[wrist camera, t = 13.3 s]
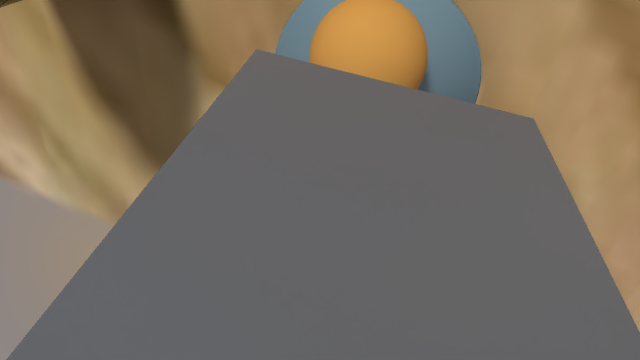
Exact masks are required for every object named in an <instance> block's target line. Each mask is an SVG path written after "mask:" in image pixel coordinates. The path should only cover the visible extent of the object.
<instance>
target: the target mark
mask: <svg viewBox="0 0 640 360" xmlns="http://www.w3.org/2000/svg"><path fill="white" fill-rule="evenodd" d="M343 1H345V0H304V1H303V3H302V4H301V5H300V6H299V7H298V8H297V9H296V10H295V12H294V13H293V15H292V16H291V18H290V19H289V21H288V22H287V24H286V26H285V28H284V30H283V32H282V34H281V36H280V39H279V42H278V46H277V49H276V54H277V55H281V56H285V57H289V58H293V59H297V60H301V61H305V62H309V63H310V59H309V54H310V46H311V42H312V38H313V35H314V33H315V30H316V28H317V27H318V25H319V23H320V21H321V20H322V19H323V18H324V16H325V15H326V14H327V13H328V12H329V11H330V10H331V9H332V8H334V7H335V6H337V5H338V4H340V3H341V2H343ZM395 1H397V2H399V3H400V4H402V5H403V6H405V7H406V8H407V9H408V10H410V12H411V13H412V14H413V15H414V16H415V17H416V18H417V20H418V22H419V23H420V25H421V27H422V29H423V31H424V34H425V37H426V41H427V47H428V62H427V67H426V72H425V75H424V78H423V80H422V82H421V84H420V86H419V88H418V89H417V90H421V91H425V92H429V93H433V94H437V95H441V96H445V97H449V98H453V99H457V100H461V101H465V102H469V103H473V104H475V102H476V99H477V95H478V92H479V87H480V80H481V60H480V53H479V48H478V44H477V41H476V38H475V35H474V33H473V31H472V28H471V26H470V24H469V22H468V21H467V19H466V18H465V16H464V14H463V13H462V11H461V10H460V9H459V8H458V7H457V6H456V4H455V3H454V2H453V1H452V0H395Z"/></svg>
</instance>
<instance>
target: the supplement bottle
mask: <svg viewBox="0 0 640 360" xmlns="http://www.w3.org/2000/svg"><path fill="white" fill-rule="evenodd" d="M18 1H21V0H0V8H1V7H4V6H7V5H10V4H13V3H15V2H18Z"/></svg>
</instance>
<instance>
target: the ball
mask: <svg viewBox="0 0 640 360" xmlns="http://www.w3.org/2000/svg"><path fill="white" fill-rule="evenodd" d="M309 59H310V63H313V64H317V65H321V66H325V67H329V68H333V69H337V70H341V71H345V72H349V73H353V74H357V75H361V76H365V77H369V78H373V79H377V80H381V81H385V82H389V83H393V84H397V85H401V86H405V87H409V88H413V89H418V88H419V86H420V84H421V82H422V80H423V78H424V75H425V72H426V67H427V62H428V47H427V41H426V37H425V34H424V31H423V29H422V27H421V25H420V23H419V22H418V20H417V18H416V17H415V16H414V15H413V14H412V13H411V12H410V10H408V9H407V8H406V7H405V6H403V5H402V4H400V3H399V2H397V1H395V0H345V1H343V2H341V3H340V4H338V5H337V6H335V7H334V8H332V9H331V10H330V11H329V12H328V13H327V14H326V15H325V16H324V18H323V19H322V20H321V21H320V23H319V25H318V27H317V28H316V30H315V33H314V35H313V38H312V42H311V46H310V54H309Z"/></svg>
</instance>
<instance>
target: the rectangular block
mask: <svg viewBox="0 0 640 360" xmlns="http://www.w3.org/2000/svg"><path fill="white" fill-rule="evenodd" d="M7 360H640V332H639V330H638V328H637V326H636V324H635V322H634V320H633V318H632V316H631V314H630V312H629V310H628V308H627V306H626V304H625V302H624V300H623V298H622V296H621V294H620V292H619V290H618V288H617V286H616V284H615V282H614V280H613V278H612V276H611V274H610V272H609V270H608V268H607V266H606V264H605V262H604V260H603V258H602V256H601V254H600V252H599V250H598V248H597V246H596V244H595V242H594V240H593V238H592V236H591V234H590V232H589V230H588V228H587V225H586V223H585V221H584V219H583V217H582V215H581V213H580V211H579V209H578V207H577V205H576V203H575V201H574V199H573V197H572V195H571V193H570V191H569V189H568V187H567V185H566V183H565V181H564V179H563V177H562V175H561V173H560V171H559V169H558V167H557V165H556V163H555V161H554V159H553V157H552V155H551V153H550V151H549V149H548V147H547V145H546V143H545V141H544V139H543V137H542V135H541V133H540V131H539V129H538V127H537V125H536V123H535V121H534V119H533V118H529V117H525V116H521V115H517V114H513V113H509V112H505V111H501V110H497V109H493V108H489V107H485V106H481V105H477V104H473V103H469V102H465V101H461V100H457V99H453V98H449V97H445V96H441V95H437V94H433V93H429V92H425V91H421V90H417V89H413V88H409V87H405V86H401V85H397V84H393V83H389V82H385V81H381V80H377V79H373V78H369V77H365V76H361V75H357V74H353V73H349V72H345V71H341V70H337V69H333V68H329V67H325V66H321V65H317V64H313V63H309V62H305V61H301V60H297V59H293V58H289V57H285V56H281V55H277V54H273V53H269V52H265V51H261V50H257V49H256V51H255V52H254V53H253V54H252V56H251V57H250V58H249V59H248V60H247V62H246V63H245V64H244V65H243V67H242V68H241V69H240V70H239V72H238V73H237V74H236V75H235V77H234V78H233V79H232V80H231V82H230V83H229V84H228V85H227V87H226V88H225V89H224V90H223V92H222V93H221V94H220V95H219V96H218V98H217V99H216V100H215V101H214V103H213V104H212V105H211V106H210V108H209V109H208V110H207V111H206V113H205V114H204V115H203V116H202V118H201V119H200V120H199V121H198V123H197V124H196V125H195V126H194V127H193V129H192V130H191V131H190V132H189V134H188V135H187V136H186V137H185V139H184V140H183V141H182V142H181V144H180V145H179V146H178V147H177V149H176V150H175V151H174V152H173V154H172V155H171V156H170V157H169V159H168V160H167V161H166V162H165V163H164V165H163V166H162V167H161V168H160V170H159V171H158V172H157V173H156V175H155V176H154V177H153V178H152V180H151V181H150V182H149V183H148V185H147V186H146V187H145V188H144V190H143V191H142V192H141V193H140V195H139V196H138V197H137V198H136V199H135V201H134V202H133V203H132V204H131V206H130V207H129V208H128V209H127V211H126V212H125V213H124V214H123V216H122V217H121V218H120V219H119V221H118V222H117V223H116V224H115V226H114V227H113V228H112V229H111V230H110V232H109V233H108V235H107V236H106V237H105V238H104V239H103V240H102V242H101V243H100V244H99V246H98V247H97V248H96V249H95V250H94V252H93V253H92V254H91V255H90V257H89V258H88V259H87V261H86V262H85V263H84V264H83V265H82V267H81V268H80V269H79V270H78V272H77V273H76V274H75V275H74V276H73V278H72V279H71V280H70V282H69V283H68V284H67V285H66V286H65V288H64V289H63V290H62V291H61V293H60V294H59V295H58V296H57V298H56V299H55V300H54V301H53V302H52V304H51V305H50V306H49V307H48V309H47V310H46V311H45V312H44V314H43V315H42V316H41V318H40V319H39V320H38V321H37V322H36V324H35V325H34V326H33V327H32V329H31V330H30V331H29V332H28V333H27V335H26V336H25V337H24V338H23V340H22V341H21V342H20V344H19V345H18V346H17V347H16V348H15V350H14V351H13V352H12V353H11V355H10V356H9V357H8V358H7Z"/></svg>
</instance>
